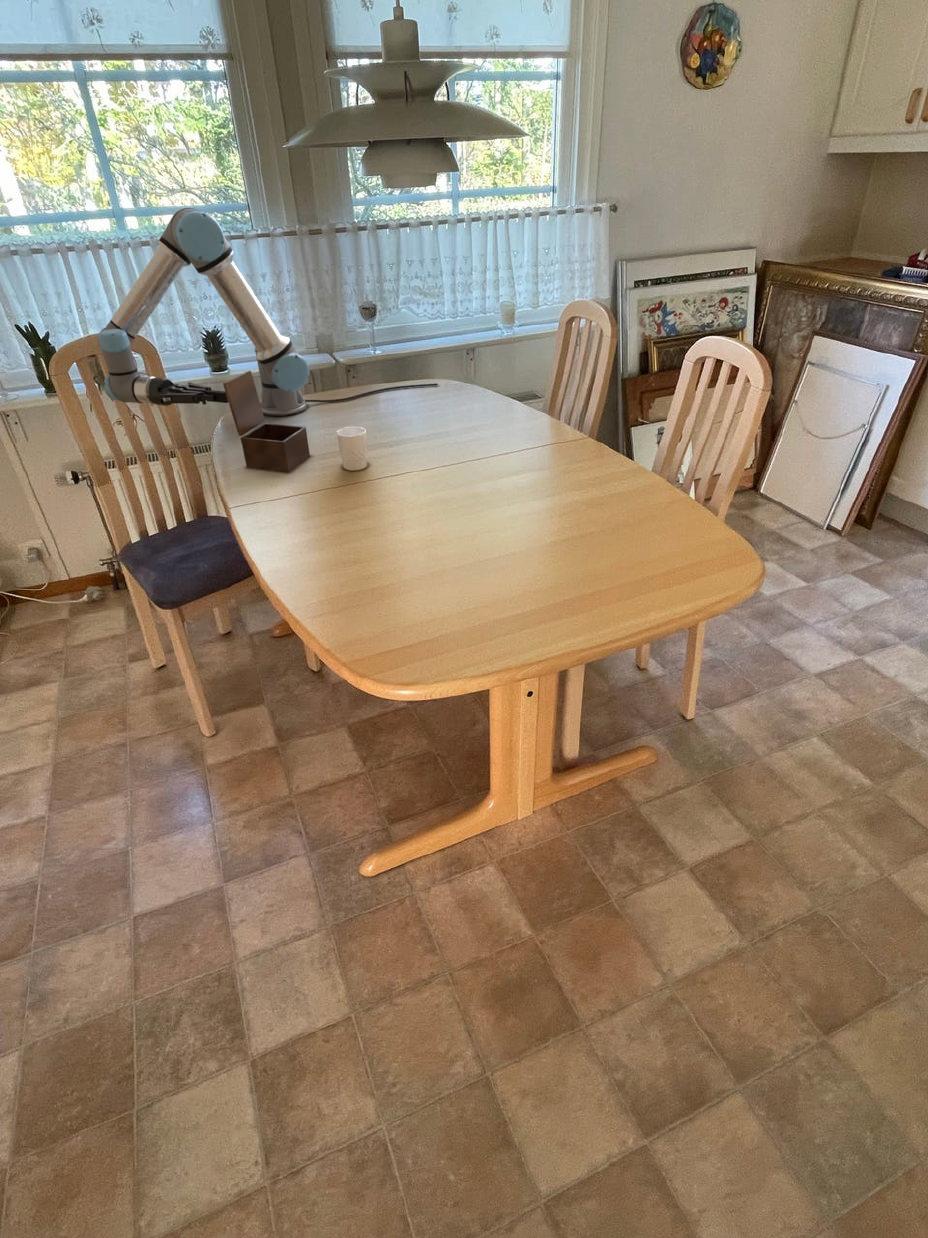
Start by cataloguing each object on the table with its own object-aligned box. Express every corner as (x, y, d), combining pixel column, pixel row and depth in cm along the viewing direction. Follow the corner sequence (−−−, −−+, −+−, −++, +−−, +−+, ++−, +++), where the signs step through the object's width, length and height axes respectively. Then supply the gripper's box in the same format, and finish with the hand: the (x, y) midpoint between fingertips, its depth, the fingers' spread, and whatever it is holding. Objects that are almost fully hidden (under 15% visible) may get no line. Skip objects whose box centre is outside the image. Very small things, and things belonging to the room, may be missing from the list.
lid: (250, 370, 192) (248, 370, 192) (225, 382, 182) (222, 383, 182) (265, 421, 199) (262, 421, 200) (241, 436, 190) (238, 436, 190)
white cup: (355, 473, 190) (351, 438, 184) (335, 467, 194) (330, 432, 188) (375, 464, 195) (371, 429, 189) (355, 458, 199) (351, 424, 193)
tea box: (310, 456, 201) (305, 426, 196) (288, 472, 191) (283, 442, 187) (269, 451, 205) (264, 422, 200) (246, 467, 195) (240, 437, 190)
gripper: (174, 397, 205) (243, 403, 198) (144, 411, 195) (216, 418, 188) (167, 371, 200) (237, 376, 194) (136, 384, 190) (210, 390, 184)
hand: (227, 397), depth 191 cm, fingers closed
